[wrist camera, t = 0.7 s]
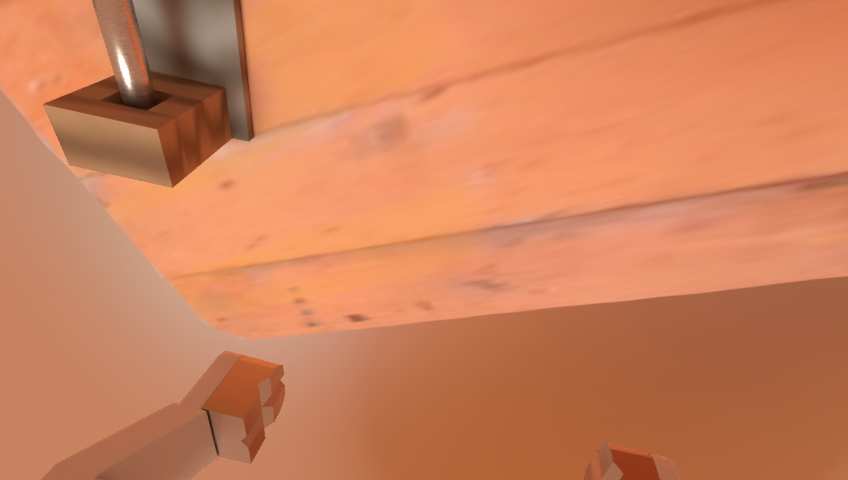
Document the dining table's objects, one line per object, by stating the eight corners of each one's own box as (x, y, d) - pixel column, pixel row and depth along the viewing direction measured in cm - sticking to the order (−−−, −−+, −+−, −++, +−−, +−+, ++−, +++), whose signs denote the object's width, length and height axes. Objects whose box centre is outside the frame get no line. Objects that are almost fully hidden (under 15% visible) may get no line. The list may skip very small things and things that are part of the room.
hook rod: (120, -95, 34) (47, -98, 28) (157, -86, 34) (92, -88, 28) (175, 136, 47) (132, 165, 42) (201, 142, 47) (163, 171, 42)
